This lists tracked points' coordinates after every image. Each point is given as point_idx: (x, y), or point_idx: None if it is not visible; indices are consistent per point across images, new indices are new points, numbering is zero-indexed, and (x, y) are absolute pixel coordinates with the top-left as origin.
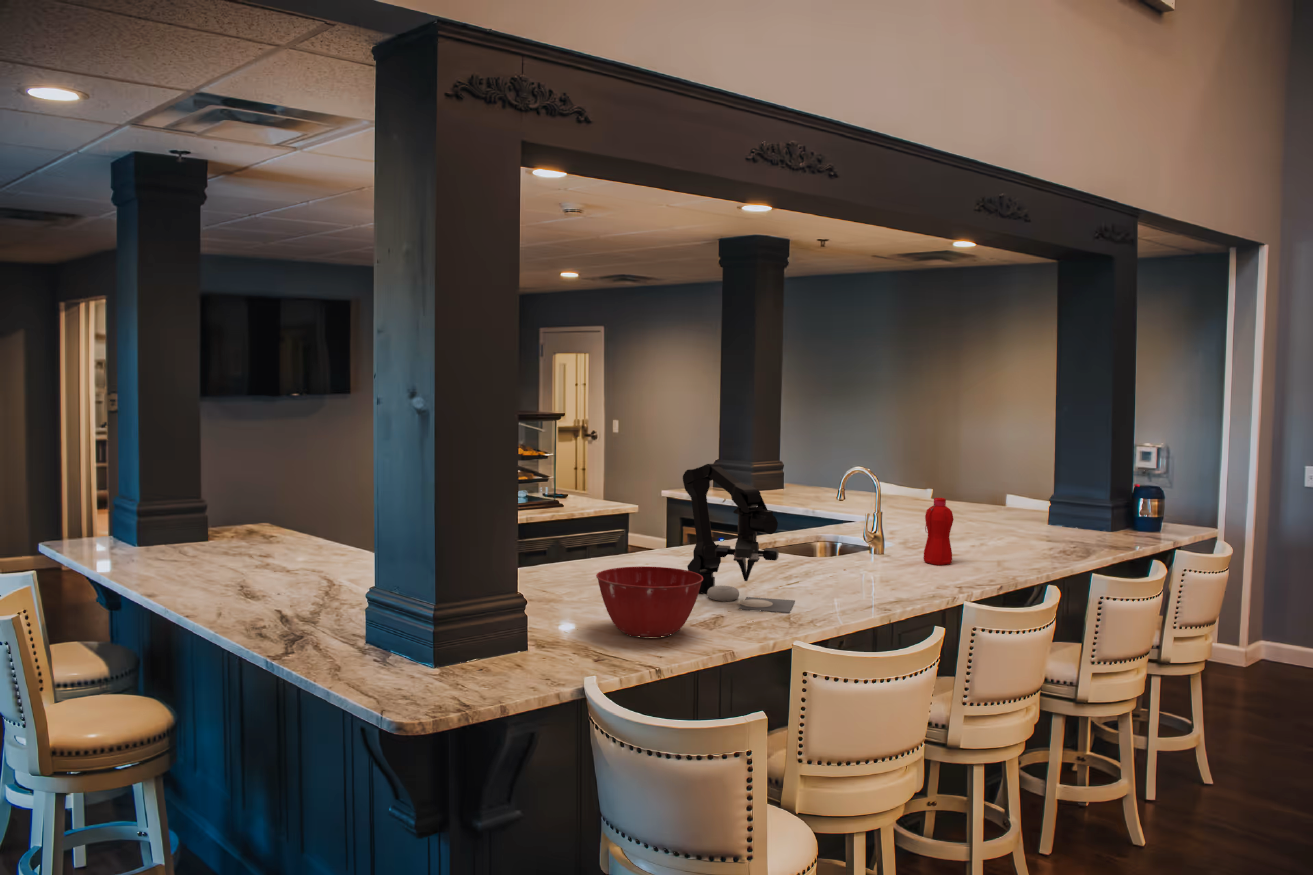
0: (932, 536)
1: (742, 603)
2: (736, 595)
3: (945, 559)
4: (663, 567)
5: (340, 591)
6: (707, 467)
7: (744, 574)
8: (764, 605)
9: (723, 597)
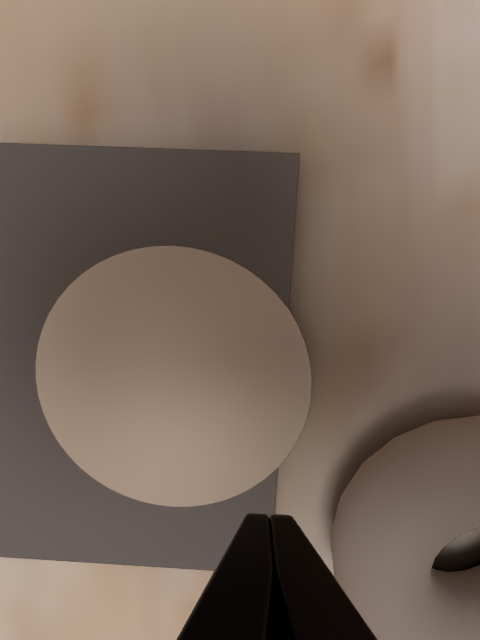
0: None
1: (281, 341)
2: (352, 492)
3: None
4: None
5: None
6: None
7: (308, 604)
8: (90, 320)
9: (467, 421)
